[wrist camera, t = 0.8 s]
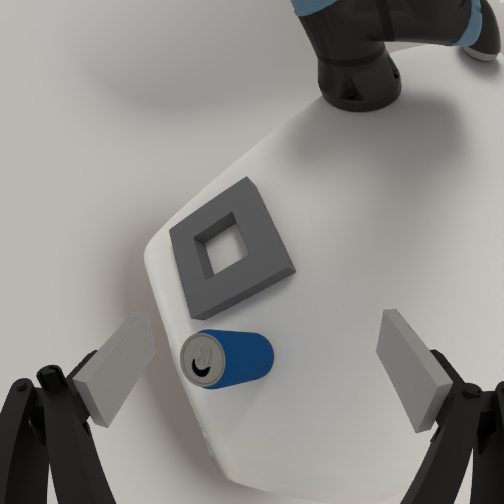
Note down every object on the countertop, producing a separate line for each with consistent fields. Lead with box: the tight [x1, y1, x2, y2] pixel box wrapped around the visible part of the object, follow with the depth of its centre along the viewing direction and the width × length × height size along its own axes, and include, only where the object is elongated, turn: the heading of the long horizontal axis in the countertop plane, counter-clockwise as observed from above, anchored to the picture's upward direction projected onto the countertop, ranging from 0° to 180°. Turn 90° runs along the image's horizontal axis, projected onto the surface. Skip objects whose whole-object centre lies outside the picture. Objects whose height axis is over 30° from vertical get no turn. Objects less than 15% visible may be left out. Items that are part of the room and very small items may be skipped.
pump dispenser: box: [462, 0, 501, 61], centre depth 24 cm, size 10×10×15 cm
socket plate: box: [169, 176, 296, 320], centre depth 42 cm, size 16×16×3 cm
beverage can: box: [180, 329, 274, 389], centre depth 32 cm, size 6×6×12 cm
